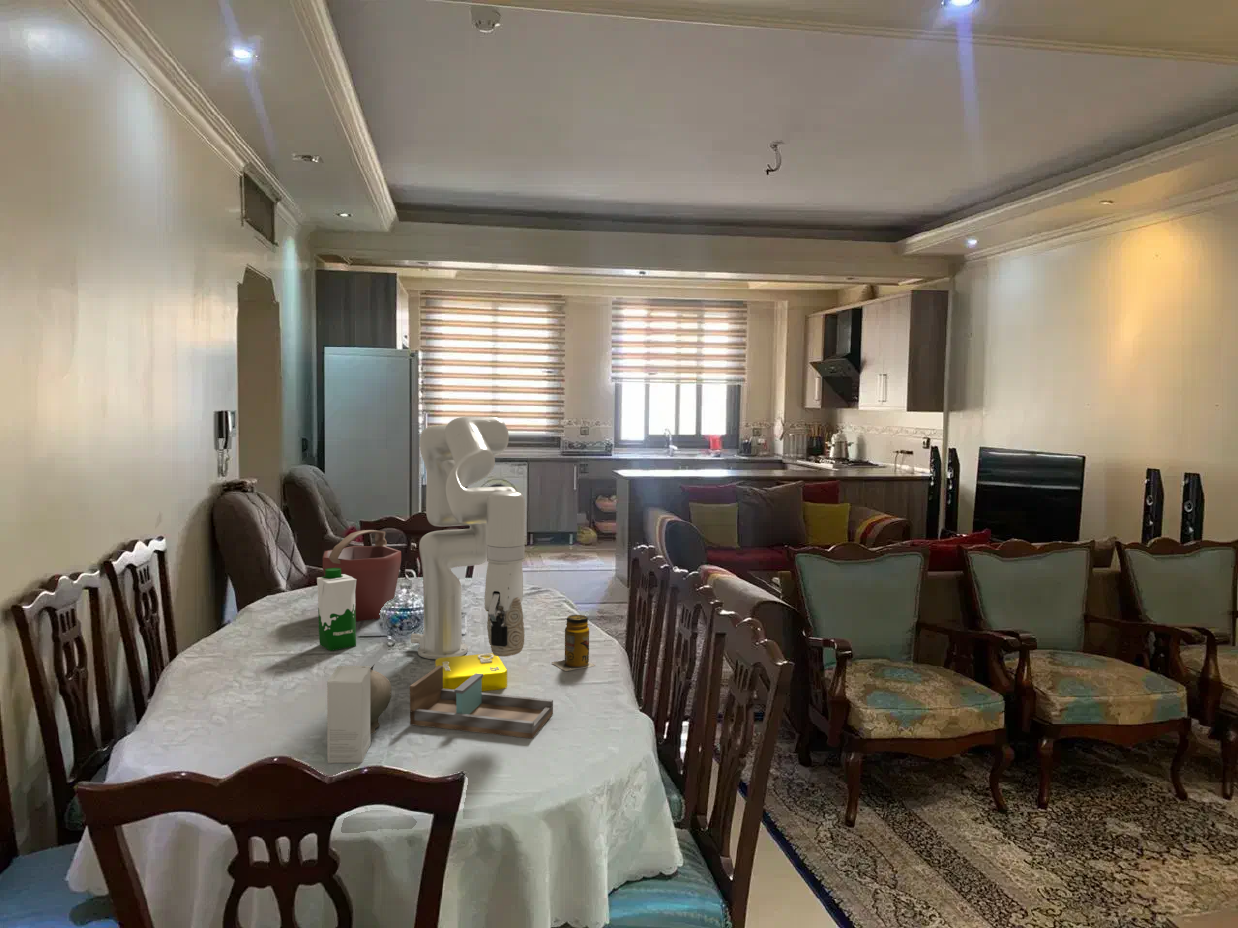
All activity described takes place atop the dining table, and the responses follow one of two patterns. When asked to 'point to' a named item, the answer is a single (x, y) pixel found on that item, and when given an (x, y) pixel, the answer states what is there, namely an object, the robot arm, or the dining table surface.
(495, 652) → the carving
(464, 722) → the pusher lane
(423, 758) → the dining table surface
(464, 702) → the pusher plate
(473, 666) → the yellow rounded box
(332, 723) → the skincare box
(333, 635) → the milk carton
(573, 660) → the condiment
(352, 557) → the bucket
